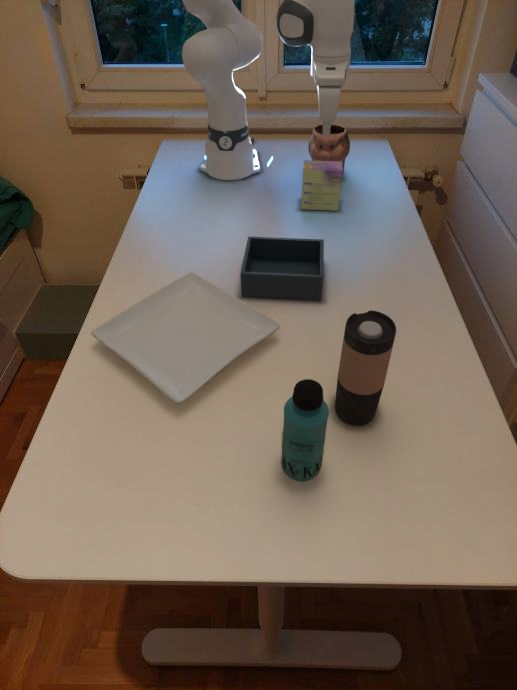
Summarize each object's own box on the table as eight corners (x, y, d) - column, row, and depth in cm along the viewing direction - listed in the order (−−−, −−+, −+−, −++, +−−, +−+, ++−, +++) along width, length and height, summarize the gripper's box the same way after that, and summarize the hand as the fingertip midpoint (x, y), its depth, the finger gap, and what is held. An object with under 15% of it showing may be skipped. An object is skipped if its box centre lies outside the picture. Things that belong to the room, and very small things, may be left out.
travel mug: (366, 434, 85) (385, 350, 71) (325, 415, 88) (336, 331, 74) (383, 404, 89) (404, 320, 75) (344, 387, 92) (357, 303, 78)
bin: (248, 259, 122) (248, 236, 117) (321, 263, 120) (323, 239, 116) (241, 297, 112) (240, 273, 107) (321, 301, 110) (323, 277, 105)
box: (338, 201, 142) (342, 160, 134) (338, 211, 138) (343, 170, 130) (301, 199, 143) (303, 159, 134) (300, 210, 139) (302, 169, 130)
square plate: (92, 344, 101) (87, 330, 99) (193, 283, 116) (191, 269, 113) (180, 416, 88) (177, 402, 85) (282, 337, 102) (282, 322, 99)
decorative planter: (308, 158, 162) (311, 114, 152) (347, 160, 161) (351, 115, 151) (305, 187, 148) (307, 140, 138) (346, 189, 147) (352, 142, 137)
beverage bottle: (277, 454, 82) (279, 372, 68) (318, 451, 82) (328, 368, 68) (282, 490, 77) (285, 409, 63) (325, 487, 78) (337, 405, 64)
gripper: (317, 54, 123) (314, 112, 133) (315, 80, 109) (312, 143, 118) (343, 54, 123) (338, 112, 132) (345, 80, 108) (339, 144, 118)
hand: (326, 127), depth 125 cm, fingers open, 8 cm apart
